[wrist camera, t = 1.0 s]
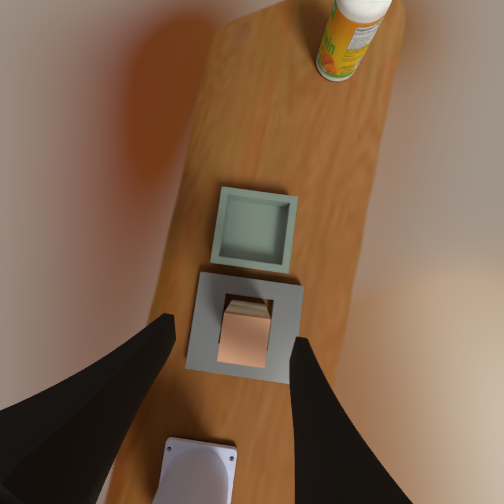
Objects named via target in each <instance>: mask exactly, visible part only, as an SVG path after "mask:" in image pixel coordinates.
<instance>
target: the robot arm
mask: <svg viewBox="0 0 504 504" xmlns="http://www.w3.org/2000/svg"><path fill="white" fill-rule="evenodd" d="M175 341H176V333H175V322H174V315H171V314H166V313H164V314H162V315H161V316H160V317H158V318H157V319H156V320H154V321H153V322H152V323H150V324H149V325H148V326H147V327H145V328H144V329H143V330H141V331H140V332H139V333H137V334H136V335H135V336H133V337H132V338H131V339H129V340H128V341H127V342H125V343H124V344H122V345H121V346H119V347H118V348H116V349H115V350H114V351H112V352H111V353H109V354H108V355H106V356H105V357H103V358H102V359H100V360H98V361H97V362H95V363H93V364H92V365H90V366H88V367H87V368H85V369H84V370H82V371H80V372H78V373H76V374H75V375H73V376H71V377H69V378H67V379H65V380H63V381H61V382H60V383H58V384H56V385H54V386H52V387H50V388H48V389H46V390H44V391H42V392H40V393H38V394H36V395H34V396H32V397H30V398H27V399H25V400H23V401H21V402H19V403H17V404H15V405H12V406H10V407H8V408H5V409H3V410H1V411H0V504H96V501H97V499H98V497H99V494H100V492H101V489H102V487H103V485H104V482H105V480H106V477H107V475H108V473H109V471H110V469H111V466H112V464H113V462H114V460H115V457H116V455H117V453H118V451H119V448H120V446H121V444H122V442H123V440H124V438H125V436H126V433H127V431H128V429H129V427H130V425H131V423H132V421H133V419H134V417H135V415H136V413H137V411H138V408H139V406H140V405H141V403H142V401H143V399H144V397H145V396H146V394H147V392H148V391H149V389H150V387H151V385H152V384H153V382H154V380H155V379H156V377H157V375H158V374H159V372H160V370H161V369H162V367H163V365H164V363H165V362H166V360H167V358H168V356H169V354H170V352H171V350H172V348H173V345H174V343H175ZM289 384H290V395H291V406H292V416H293V427H294V450H295V504H413V503H412V502H411V501H410V500H409V498H408V497H407V496H406V495H405V494H404V492H403V491H402V490H401V489H400V487H399V486H398V485H397V484H396V482H395V481H394V480H393V478H392V477H391V476H390V475H389V473H388V472H387V471H386V470H385V468H384V467H383V466H382V464H381V463H380V462H379V460H378V459H377V457H376V456H375V455H374V453H373V452H372V451H371V449H370V448H369V447H368V445H367V444H366V442H365V441H364V440H363V438H362V437H361V435H360V434H359V432H358V431H357V429H356V428H355V426H354V425H353V423H352V422H351V420H350V419H349V417H348V416H347V414H346V413H345V411H344V409H343V408H342V406H341V405H340V403H339V401H338V399H337V398H336V396H335V394H334V392H333V391H332V389H331V387H330V385H329V383H328V381H327V379H326V378H325V376H324V374H323V372H322V370H321V368H320V366H319V364H318V361H317V359H316V357H315V355H314V353H313V350H312V348H311V346H310V343H309V341H308V339H307V338H302V337H297V336H296V338H295V342H294V345H293V349H292V352H291V356H290V360H289ZM169 447H171V449H170V448H169ZM231 456H233V458H231ZM236 458H237V448H236V447H234V446H228V445H222V444H215V443H208V442H202V441H195V440H188V439H182V438H175V437H169V438H168V439H167V441H166V444H165V450H164V457H163V463H162V469H161V475H160V481H159V487H158V490H157V492H156V494H155V497H154V499H153V502H152V504H230V502H231V495H232V487H233V480H234V473H235V465H236Z"/></svg>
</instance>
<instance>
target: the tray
mask: <svg viewBox="0 0 504 504" xmlns="http://www.w3.org/2000/svg"><path fill="white" fill-rule="evenodd" d="M297 202H298V197H296V196H288V195H281V194H274V193H266V192H259V191H252V190H244V189H237V188H230V187H222V189H221V195H220V202H219V208H218V215H217V221H216V228H215V234H214V240H213V247H212V253H211V260H210V263H217V264H224V265H231V266H238V267H245V268H252V269H259V270H267V271H274V272H281V273H288V274H289V266H290V258H291V250H292V242H293V234H294V226H295V218H296V210H297Z"/></svg>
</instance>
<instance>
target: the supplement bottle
mask: <svg viewBox="0 0 504 504" xmlns="http://www.w3.org/2000/svg"><path fill="white" fill-rule="evenodd" d="M391 1H392V0H334V3H333V6H332V9H331V13H330V16H329V19H328V22H327V25H326V29H325V32H324V35H323V38H322V41H321V45H320V48H319V51H318V54H317V59H316V65H317V68H318V71H319V72H320V74H321V75H322V76H323V77H324V78H326V79H328V80H330V81H343V80H346V79H347V78H349V77H350V76H351V75H352V74H353V73H354V72H355V70H356V69H357V67H358V65H359V63H360V61H361V59H362V57H363V56H364V54H365V52H366V50H367V48H368V46H369V44H370V42H371V40H372V39H373V37H374V35H375V33H376V31H377V29H378V27H379V25H380V23H381V21H382V20H383V18H384V16H385V14H386V12H387V10H388V8H389V6H390V4H391Z"/></svg>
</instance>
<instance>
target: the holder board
mask: <svg viewBox="0 0 504 504" xmlns="http://www.w3.org/2000/svg"><path fill="white" fill-rule="evenodd" d="M303 292H304V286H302V285H295V284H288V283H281V282H274V281H267V280H260V279H253V278H246V277H239V276H231V275H224V274H217V273H210V272H200V278H199V284H198V291H197V297H196V303H195V309H194V316H193V322H192V328H191V335H190V341H189V347H188V354H187V360H186V366H185V369H191V370H197V371H204V372H211V373H218V374H225V375H232V376H238V377H245V378H252V379H259V380H266V381H273V382H280V383H286V384H289V360H290V356H291V352H292V349H293V345H294V342H295V338H296V336H297V337H298V335H299V326H300V318H301V309H302V301H303ZM227 293H228V294H235V295H242V296H249V297H256V298H264V299H271V300H273V303H272V310H271V323H270V330H269V338H268V346H267V353H266V361H265V368H259V367H253V366H246V365H239V364H232V363H225V362H218V361H217V358H218V351H219V344H220V334H221V328H222V321H223V314H224V307H225V301H226V294H227Z"/></svg>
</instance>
